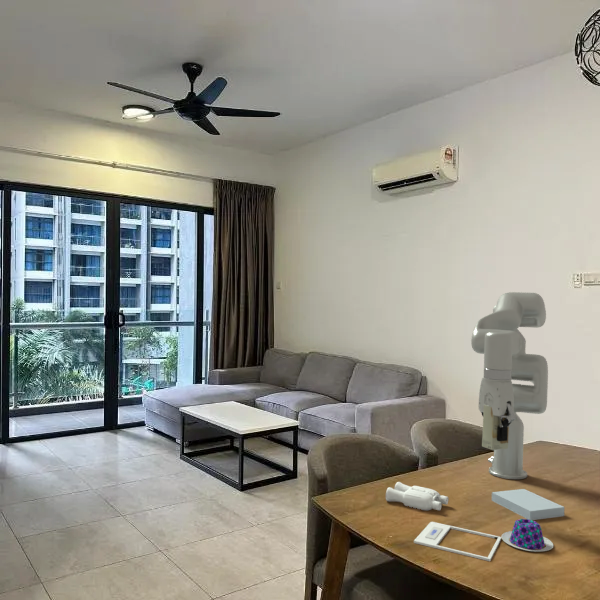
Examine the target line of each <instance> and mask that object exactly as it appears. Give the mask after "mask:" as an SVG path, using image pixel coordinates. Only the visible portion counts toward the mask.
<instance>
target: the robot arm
mask: <svg viewBox="0 0 600 600" xmlns="http://www.w3.org/2000/svg"><path fill="white" fill-rule="evenodd" d="M544 301H545V300H544V299H543V297H542V296H541V295H540V294H538V293H536V292H515V291H514V292H513V291H512V292H511V291H510V292H505V293H502V294H501V295H500V296H499V297H498V299H497V301H496V304H495V305H494V307H493V309H492V313H489V314H488V315H485V316H484V317H482V318H480V319H478V321H477V322H476V323H475V326H474V328H473V331H472V335H471V338H470V339H471V340H470V341H471V347H472V350H473V351H474V352H475V353H477V354H482V355H483V359H484V360H483V377H482V378H481V382H480V386H479V393H478V410H479V412H480V413H481V415H482V416H481V417H483V411H484V405H487V406H490V407H492V411H493V415H494V416H496V417H498V423H499V427H497V441H507V437H508V448H507V449H497V450H493V455H492V456H491V457H490V458H488V459H487V461H488V463H491V466H490V467H489V468H488V472H489V474H490V475H491V476H495V477H498V478H502V479H507V480H508V479H509V480H523V479H526V478H527V477H528V472H527V471H526V470H524V469H523V467H524V465H523V464H524V435H525V434H524V432H525V430H524V429H525V426H524V423H523V421H522V419H521V418H520V416H519V415H518V414H517V413H524V414H535V415H540V414H544V413H545V412H546V410H547V407H548V387H549V386H548V384H549V382H548V381H549V366H548V361H547V358H546V357H544V356H543V355H540V354H533V353H532V354H531V353H526V347H527V344H526V343H527V340H526V338H525V336H524V335H523V334H522V332H521V331H520V330H519V327H520V328H542V327H543V326H544V325H545V323H546V319H547V311H546V305H545V302H544ZM513 381H520V382H531V383H532V384H533V385H531V384H521V383H513ZM502 415H504V416H502ZM502 418H504V421H503V420H502ZM508 427H509V436H508Z"/></svg>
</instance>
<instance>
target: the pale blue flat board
mask: <svg viewBox="0 0 600 600" xmlns="http://www.w3.org/2000/svg"><path fill="white" fill-rule="evenodd" d="M491 501H492V502H493V503H495V504H497V505H500V506H501V507H503V508H505V509H506V510H507V509H508V510H509V511H512V512H513V513H514V514H517V515H519V516H521V517H523V519H529V520H532V521H535V520H544V519H551V518H560V517H565V506H563V505H561V504H558V503H556V502H555V501H552V500H550V499H548V498H545V497H544V496H541V495H538V494H536V493H535V492H532V491H529V490H527V489H525V488H519V489H510V490H509V489H508V490H501V491H491Z"/></svg>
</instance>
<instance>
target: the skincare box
mask: <svg viewBox="0 0 600 600" xmlns="http://www.w3.org/2000/svg"><path fill="white" fill-rule="evenodd" d="M502 416H504V415H502ZM502 420H503V421H504V418H502ZM497 427H499V423H498V417H496V416H494V415H493V411H492V407H490V406H487V405H484V411H483V416H482V434H481V435H482V439H481V447H483V448H486V449H488V450H491V451H494V450H497V449H507V448H508V437H507V441H497ZM508 436H509V427H508Z"/></svg>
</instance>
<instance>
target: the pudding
mask: <svg viewBox="0 0 600 600" xmlns="http://www.w3.org/2000/svg"><path fill="white" fill-rule="evenodd" d="M500 537H502V538H501V540H502V541H503V542H504V543H506V544H507V545H509V546H511V547H513V548H516V549H519V550H523V551H528V552H547V551H550V550H552V549H553V548H554V543H553V542H552V540H550V539H549V538H547V537H545V536H543V530H542V526H541V524H539V523H538V522H537V521H535V520H529V519H526V518H520V519H516V520H514V524H513V528H512V530H509V531H505V532H504V533H502V534H501V536H500ZM545 545H546V547H545Z"/></svg>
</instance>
